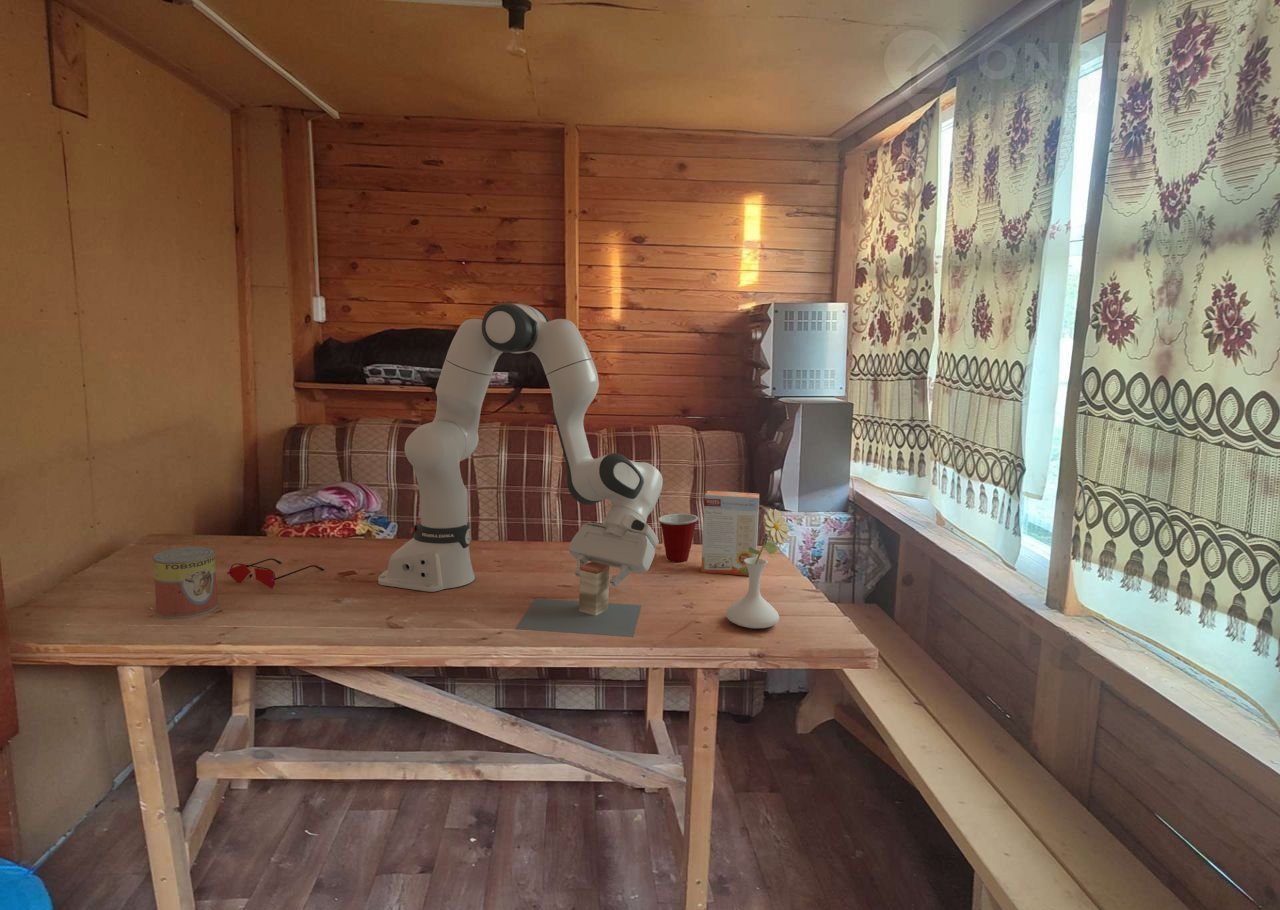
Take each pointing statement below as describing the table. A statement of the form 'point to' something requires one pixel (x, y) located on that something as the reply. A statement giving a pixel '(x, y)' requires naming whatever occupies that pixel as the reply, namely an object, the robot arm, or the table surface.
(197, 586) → the canned food
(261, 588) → the table surface
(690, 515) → the plastic cup
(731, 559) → the cracker box
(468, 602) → the table surface
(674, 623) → the table surface
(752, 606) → the flower in vase
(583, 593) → the birch block
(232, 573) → the glasses
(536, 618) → the slate mat
